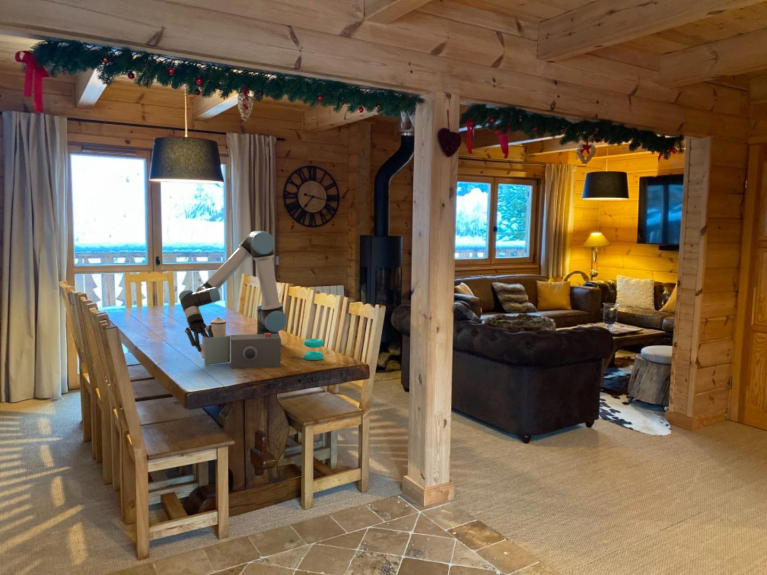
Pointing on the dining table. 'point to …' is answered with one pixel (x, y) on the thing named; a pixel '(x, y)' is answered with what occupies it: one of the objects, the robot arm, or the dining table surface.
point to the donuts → (313, 344)
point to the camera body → (255, 351)
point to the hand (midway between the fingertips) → (208, 356)
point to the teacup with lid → (218, 327)
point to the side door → (216, 350)
